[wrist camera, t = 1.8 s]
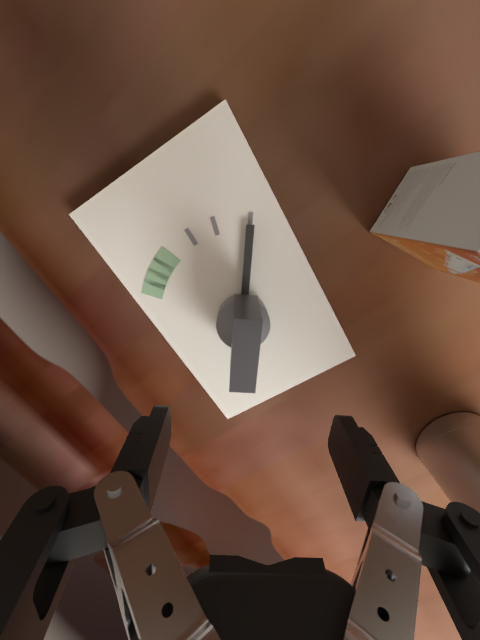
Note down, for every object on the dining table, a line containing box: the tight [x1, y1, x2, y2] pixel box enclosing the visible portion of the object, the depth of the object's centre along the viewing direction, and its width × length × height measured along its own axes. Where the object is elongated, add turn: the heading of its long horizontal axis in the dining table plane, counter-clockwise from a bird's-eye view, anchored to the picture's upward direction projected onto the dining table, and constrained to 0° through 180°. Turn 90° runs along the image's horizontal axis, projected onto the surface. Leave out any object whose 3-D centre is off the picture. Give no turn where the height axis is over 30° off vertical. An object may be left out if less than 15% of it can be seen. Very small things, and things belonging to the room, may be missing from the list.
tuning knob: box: [216, 224, 270, 393], centre depth 23 cm, size 12×5×8 cm, turn 176°
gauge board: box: [69, 99, 356, 419], centre depth 28 cm, size 26×16×2 cm, turn 31°
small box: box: [370, 151, 480, 283], centre depth 20 cm, size 8×6×13 cm
